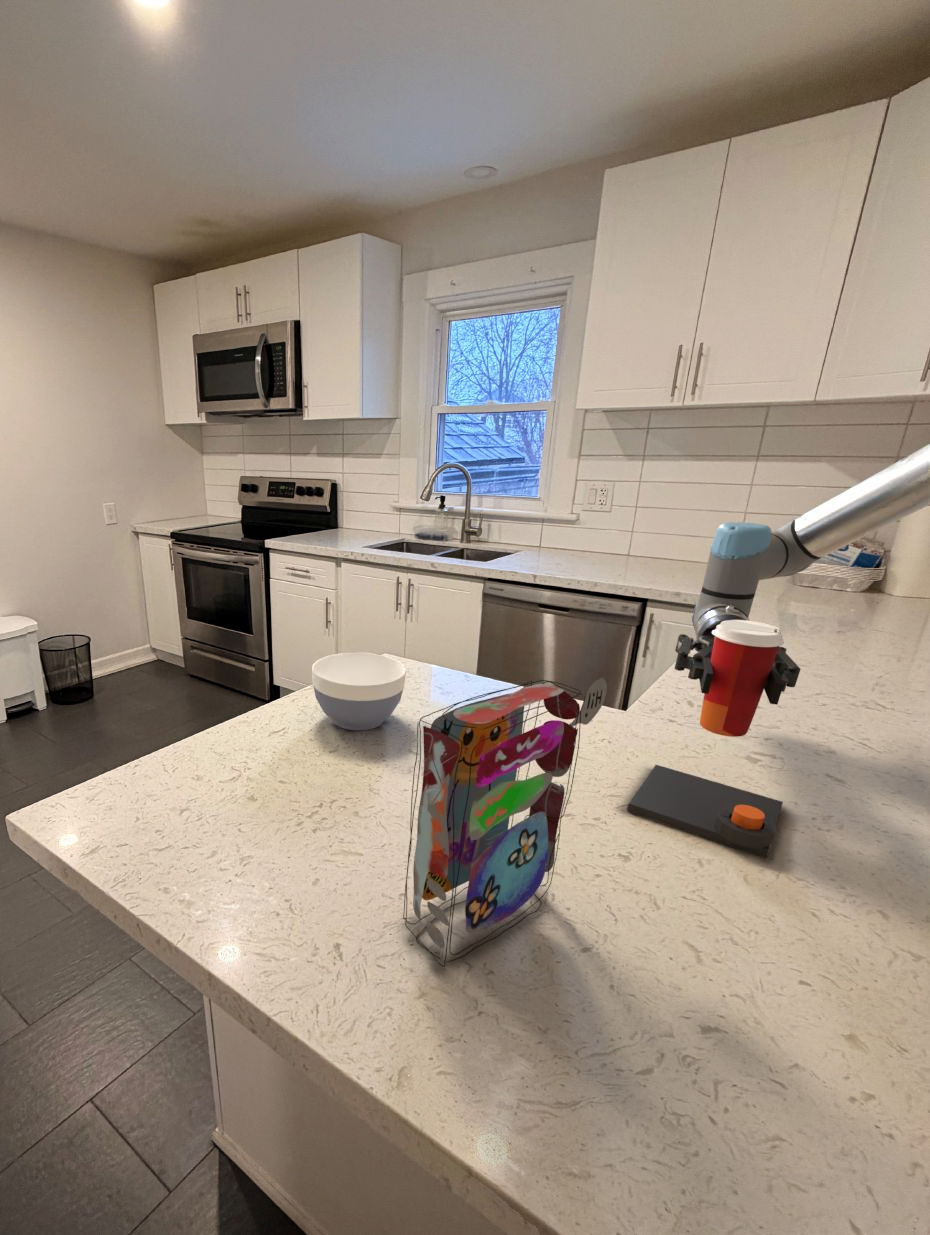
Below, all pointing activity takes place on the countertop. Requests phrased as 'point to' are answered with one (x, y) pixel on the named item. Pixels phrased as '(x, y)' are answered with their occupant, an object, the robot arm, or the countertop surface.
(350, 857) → the countertop surface
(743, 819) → the tare button
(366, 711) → the bowl
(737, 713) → the paper cup
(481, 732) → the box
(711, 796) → the scale
